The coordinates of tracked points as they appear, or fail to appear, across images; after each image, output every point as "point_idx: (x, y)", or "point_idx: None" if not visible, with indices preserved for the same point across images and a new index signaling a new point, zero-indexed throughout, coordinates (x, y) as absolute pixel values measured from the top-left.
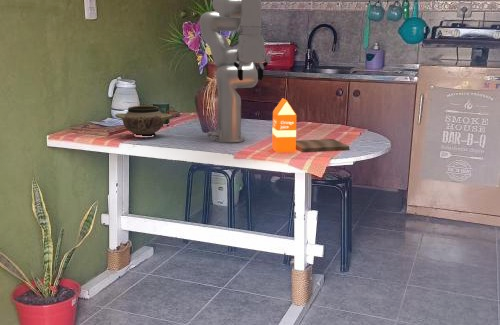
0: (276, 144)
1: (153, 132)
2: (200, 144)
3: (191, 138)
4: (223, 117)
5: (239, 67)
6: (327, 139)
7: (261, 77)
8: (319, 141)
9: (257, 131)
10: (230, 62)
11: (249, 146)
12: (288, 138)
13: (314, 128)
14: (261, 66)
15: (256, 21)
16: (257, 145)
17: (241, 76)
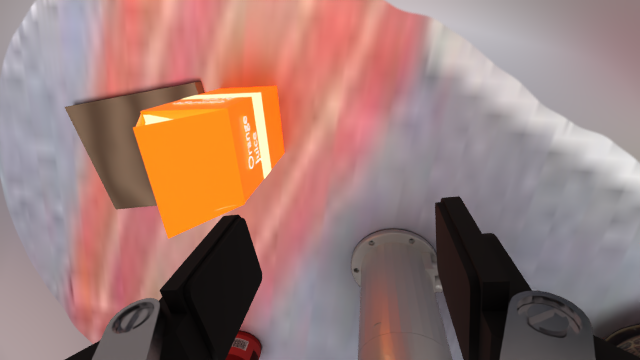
0: (269, 93)
1: (628, 339)
2: (495, 223)
3: None
4: (429, 300)
5: (562, 328)
6: (129, 204)
7: (218, 225)
8: (148, 181)
9: (302, 347)
10: None
11: (348, 179)
12: (222, 93)
13: None
14: (138, 337)
15: None
16: (323, 191)
17: (465, 216)
